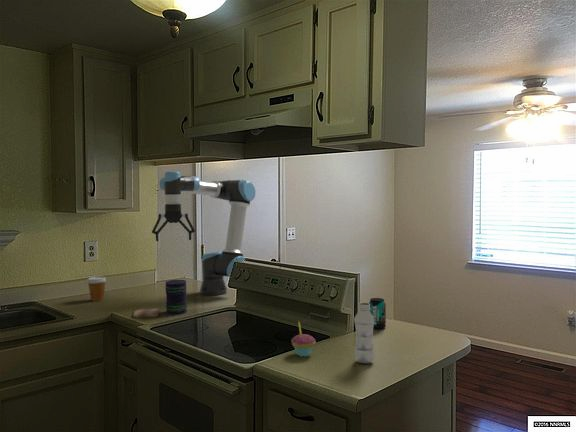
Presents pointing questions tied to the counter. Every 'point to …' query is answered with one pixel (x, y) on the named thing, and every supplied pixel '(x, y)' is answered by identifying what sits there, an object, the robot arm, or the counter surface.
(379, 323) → the beverage can
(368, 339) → the plastic bottle
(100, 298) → the disposable coffee cup
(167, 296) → the storage jar
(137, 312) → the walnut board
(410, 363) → the counter surface
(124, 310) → the counter surface
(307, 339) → the cupcake
